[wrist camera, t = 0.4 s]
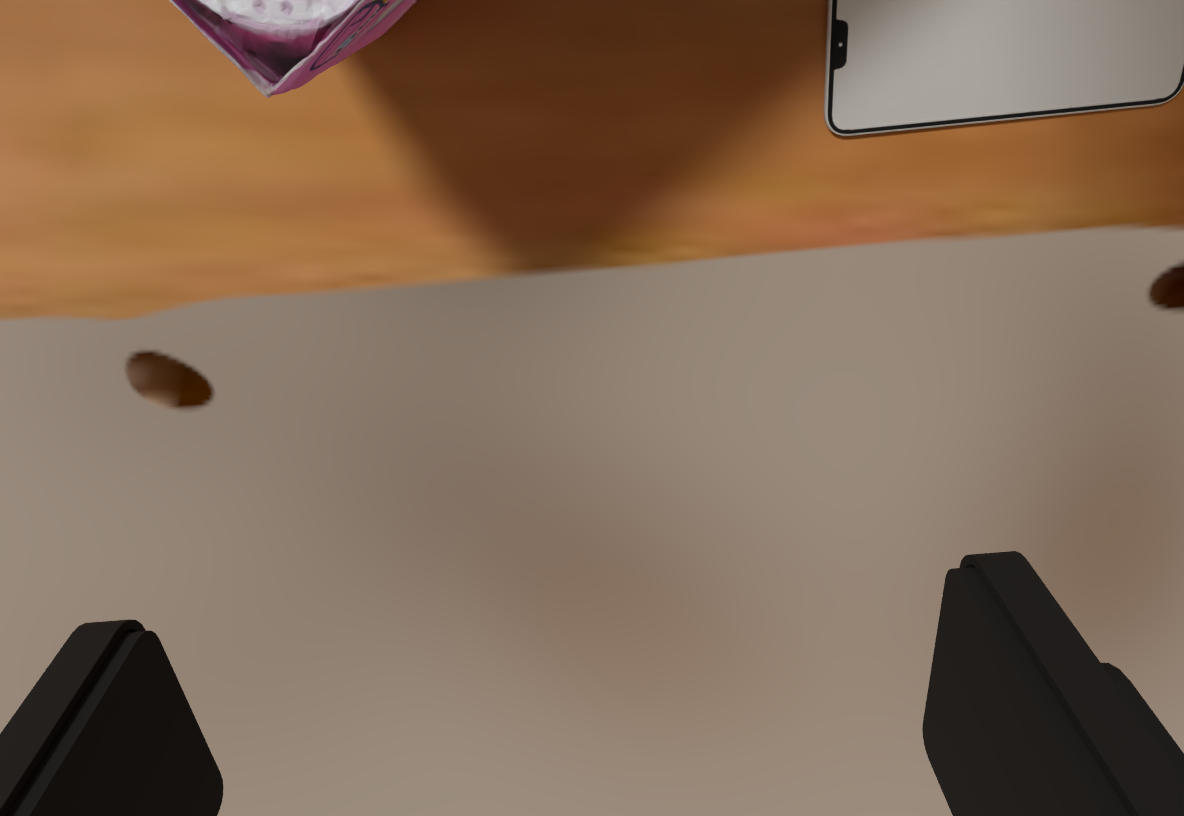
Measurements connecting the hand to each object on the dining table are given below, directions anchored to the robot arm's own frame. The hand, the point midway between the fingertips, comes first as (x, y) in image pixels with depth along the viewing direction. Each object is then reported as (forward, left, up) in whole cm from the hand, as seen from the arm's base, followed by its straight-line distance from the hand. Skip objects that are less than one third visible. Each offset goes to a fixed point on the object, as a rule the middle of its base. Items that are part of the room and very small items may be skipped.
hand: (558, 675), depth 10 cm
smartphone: (-5, +18, -31) cm, 36 cm away
